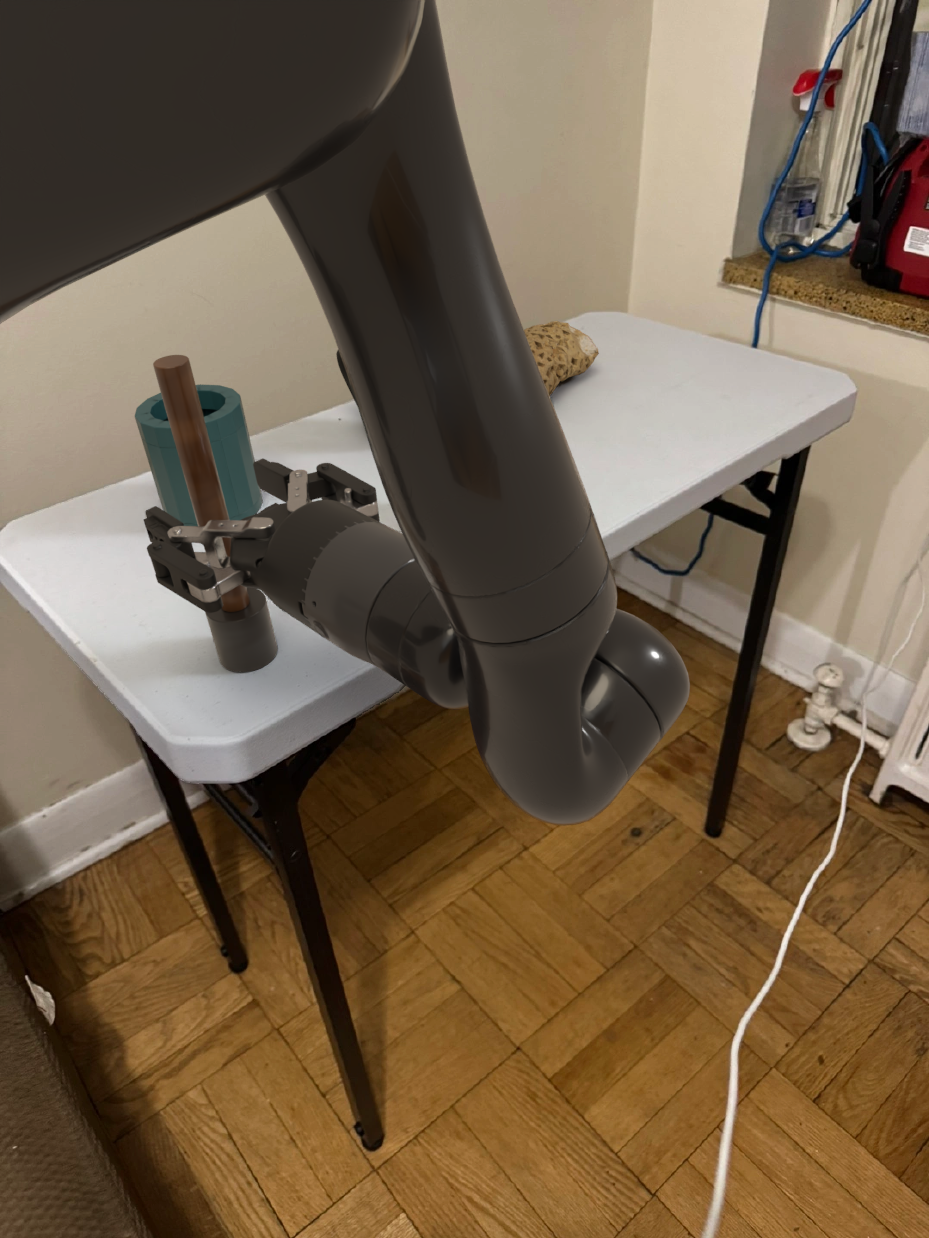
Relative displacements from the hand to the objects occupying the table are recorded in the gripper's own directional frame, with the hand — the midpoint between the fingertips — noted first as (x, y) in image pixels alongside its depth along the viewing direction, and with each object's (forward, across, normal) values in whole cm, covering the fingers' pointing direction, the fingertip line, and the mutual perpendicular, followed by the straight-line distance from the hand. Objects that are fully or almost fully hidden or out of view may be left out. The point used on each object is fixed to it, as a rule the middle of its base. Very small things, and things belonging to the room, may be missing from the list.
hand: (207, 495), depth 60 cm
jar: (+22, -11, +14) cm, 29 cm away
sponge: (+15, -52, +15) cm, 56 cm away
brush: (0, 0, +14) cm, 15 cm away
